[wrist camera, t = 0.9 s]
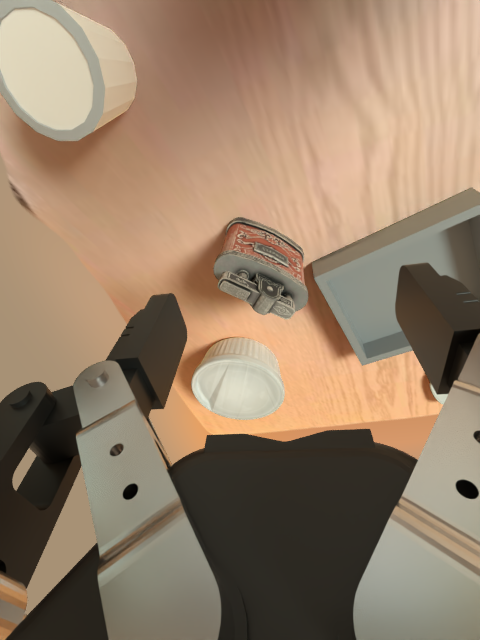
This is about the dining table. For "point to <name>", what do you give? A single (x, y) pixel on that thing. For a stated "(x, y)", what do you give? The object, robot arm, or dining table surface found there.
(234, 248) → the lighter
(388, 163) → the dining table surface
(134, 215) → the dining table surface
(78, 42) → the cream cup
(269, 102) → the dining table surface
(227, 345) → the ramekin
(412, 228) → the tray
